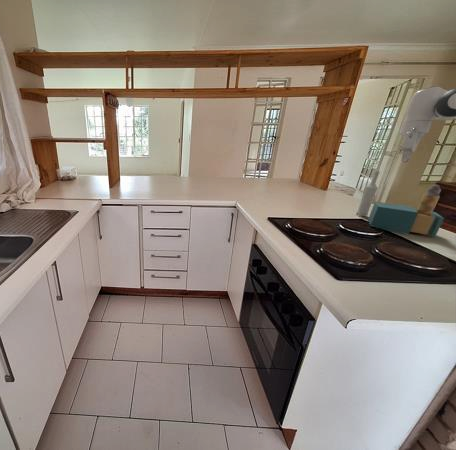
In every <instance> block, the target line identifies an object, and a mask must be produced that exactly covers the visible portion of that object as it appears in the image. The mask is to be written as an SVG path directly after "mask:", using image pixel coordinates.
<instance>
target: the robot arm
mask: <svg viewBox="0 0 456 450" xmlns="http://www.w3.org/2000/svg"><path fill="white" fill-rule="evenodd" d="M433 120H439V121H453V120H456V87H455V88H453V89H450V90H448V89H447V90H446V89H445V88H442V87H441V86H430V87H426V88H425V87H424V88H422V89H420V90H417V91H416V92H414V93H413V95H412V96H411V97H410V99H409V102H408V105H407V107H406V111H405V117H404V120H403V121H402V123H401V127H400V131H399V135H402V136H401V138H402V139H403V141H402V145H401V151H402V154H401V155H402V156H401V160H400V161H401V162H402V163H408V162H409V160H410V158H411V155H412V153H415V152H416V150H417V148H418V145H419V144H420V141H421V139H422V138H423V137H424V136H425V135H426V134H428V133H429V132H430V129H431V125H432V123H433Z"/></svg>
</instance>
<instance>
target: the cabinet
mask: <svg viewBox="0 0 456 450" xmlns="http://www.w3.org/2000/svg"><path fill="white" fill-rule="evenodd" d="M416 210H417V209H415V208H414V207H413V206H409V205H403V204H395V203H388V202H383V201H374V203H373V206H372V207H371V210H370V214H369V216H368V219H367V222H369V223H368V225H369V224H370V225H369V227H370V226H372V227H377V228H381V229H380V230H382V229H383V231H387V232H392V233H393V232H394V233H397V234H398V233H399V234H404V235H409V234H410V233H411V232H410V230H411V228H412V226H413V223H414V221H415V219H416V217H417V215H418V212H417V211H416ZM377 228H376V229H377Z"/></svg>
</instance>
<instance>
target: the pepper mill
mask: <svg viewBox="0 0 456 450" xmlns="http://www.w3.org/2000/svg"><path fill="white" fill-rule="evenodd" d="M441 191H442V188H440V185H439V184H433V185H432V186H431V187H428V188H427V190H426V193H424V194H423V196H422V198H421V200H420V202H419V205H418V207H417V209H416V210H417V212H418V214H420V215H427V216H431V214H432V212H434V210H435V208H436V205H437V203H438V201H439V200H440V197H441V195H440V194H441Z"/></svg>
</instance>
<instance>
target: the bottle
mask: <svg viewBox="0 0 456 450" xmlns="http://www.w3.org/2000/svg"><path fill="white" fill-rule="evenodd" d="M380 173H381V171H380V170H375V171H374V172H373V175H372V178H371V181H370V183H369V184H367V185H365V187H364V190H363V192H362V196H361V199H360V203H359V206H358V208H357V210H356V212H355V215H356V216H358V215H359V216H358V217H362V216H367V217H368V215H369V211H370V208H371V206H372V203H373V201H374V198H375V196H376V193H377V191H378V189H379V187H378V186H377V184H376V183H377V181H378V178H379V175H380Z"/></svg>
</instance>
